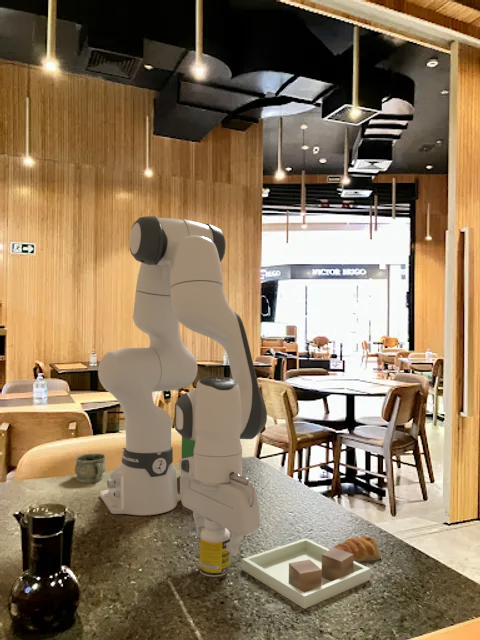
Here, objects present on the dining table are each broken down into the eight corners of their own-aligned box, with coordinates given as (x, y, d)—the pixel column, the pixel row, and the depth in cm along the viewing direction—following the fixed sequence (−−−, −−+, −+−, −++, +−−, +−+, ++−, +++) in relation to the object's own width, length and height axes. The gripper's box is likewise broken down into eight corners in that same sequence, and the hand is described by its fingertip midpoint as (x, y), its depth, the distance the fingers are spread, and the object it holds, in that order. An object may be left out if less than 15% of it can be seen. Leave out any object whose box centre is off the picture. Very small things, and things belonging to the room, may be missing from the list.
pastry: (341, 570, 95) (342, 549, 96) (323, 555, 102) (323, 536, 102) (384, 563, 99) (384, 542, 99) (363, 549, 105) (363, 530, 105)
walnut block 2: (321, 577, 91) (321, 554, 91) (333, 569, 94) (334, 547, 94) (341, 585, 88) (341, 561, 88) (353, 576, 91) (353, 554, 91)
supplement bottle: (225, 581, 90) (226, 525, 90) (195, 578, 91) (196, 522, 91) (232, 567, 96) (233, 514, 96) (204, 564, 97) (204, 511, 97)
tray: (242, 572, 93) (242, 558, 94) (305, 550, 103) (305, 538, 103) (304, 612, 81) (304, 596, 81) (370, 583, 90) (370, 568, 90)
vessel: (114, 480, 148) (114, 458, 148) (84, 486, 142) (85, 463, 142) (95, 471, 157) (95, 450, 157) (66, 476, 151) (67, 455, 151)
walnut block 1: (288, 586, 87) (288, 563, 87) (309, 582, 89) (309, 559, 89) (300, 598, 84) (300, 573, 84) (321, 594, 85) (321, 569, 85)
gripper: (268, 477, 87) (268, 560, 87) (201, 454, 103) (201, 524, 103) (238, 483, 83) (238, 570, 83) (174, 458, 100) (173, 531, 99)
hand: (217, 544), depth 93 cm, fingers open, 8 cm apart
